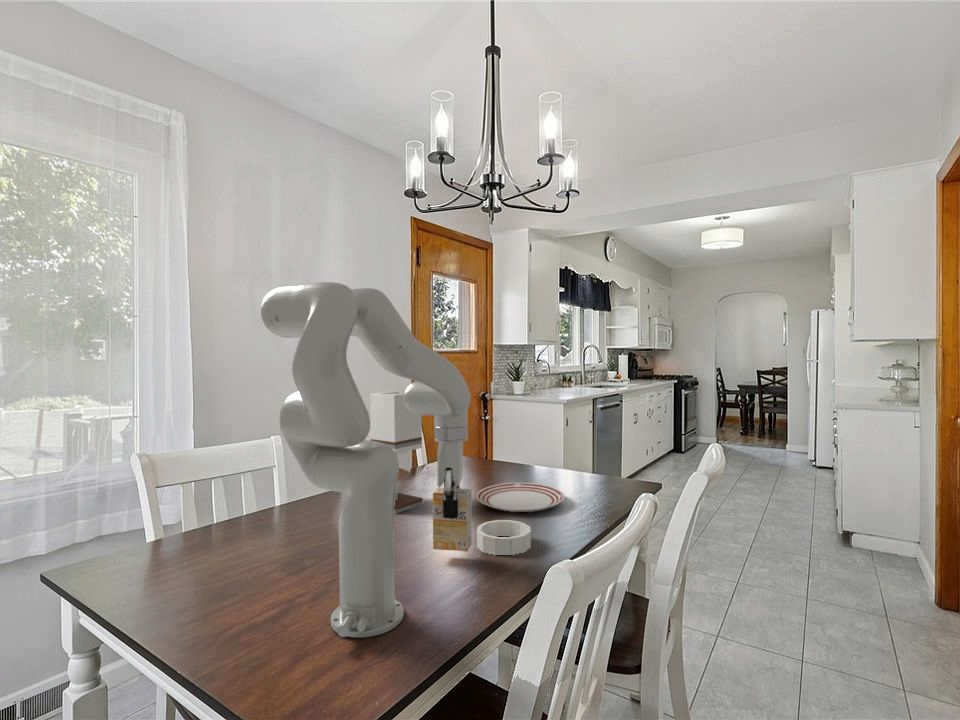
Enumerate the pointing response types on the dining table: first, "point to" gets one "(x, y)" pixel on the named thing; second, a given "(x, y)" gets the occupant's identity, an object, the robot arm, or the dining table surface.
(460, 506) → the supplement box
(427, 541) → the dining table surface
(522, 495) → the dinner plate
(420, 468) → the dining table surface
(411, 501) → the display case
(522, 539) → the white faceted ring
